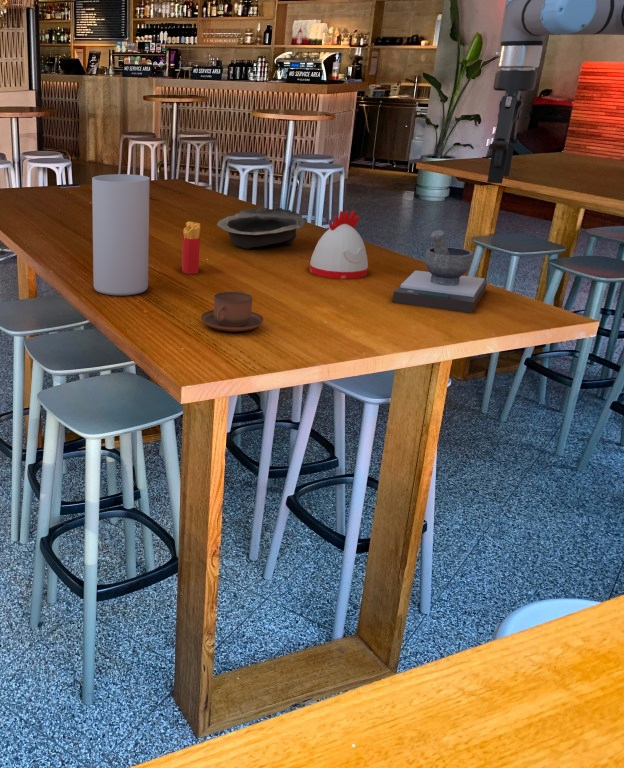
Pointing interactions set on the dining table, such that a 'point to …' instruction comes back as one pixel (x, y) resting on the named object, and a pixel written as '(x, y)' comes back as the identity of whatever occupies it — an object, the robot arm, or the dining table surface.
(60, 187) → the dining table surface
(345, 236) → the kitchen timer
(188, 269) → the french fries
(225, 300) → the cup and saucer
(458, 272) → the mortar and pestle
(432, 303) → the kitchen scale
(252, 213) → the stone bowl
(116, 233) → the cylinder vase
